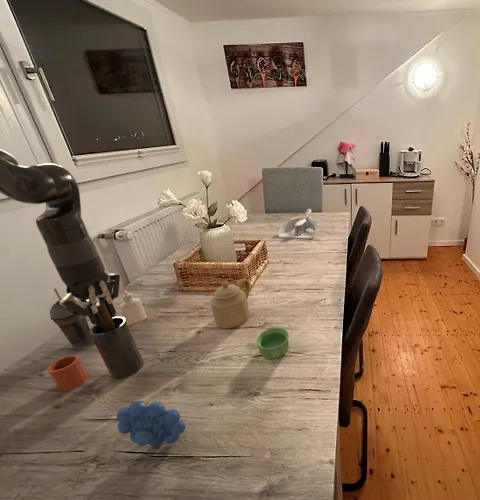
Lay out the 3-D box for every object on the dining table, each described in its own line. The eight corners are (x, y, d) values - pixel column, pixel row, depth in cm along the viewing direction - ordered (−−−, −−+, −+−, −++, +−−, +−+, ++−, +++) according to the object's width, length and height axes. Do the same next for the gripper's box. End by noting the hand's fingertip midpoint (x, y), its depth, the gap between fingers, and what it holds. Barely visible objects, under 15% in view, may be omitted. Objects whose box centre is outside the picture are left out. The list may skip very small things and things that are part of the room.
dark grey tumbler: (116, 385, 72) (93, 339, 66) (108, 372, 76) (85, 327, 70) (148, 367, 77) (129, 323, 71) (139, 356, 81) (120, 313, 75)
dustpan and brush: (276, 237, 167) (274, 222, 163) (295, 221, 196) (294, 207, 193) (313, 239, 163) (312, 223, 159) (327, 221, 193) (326, 208, 189)
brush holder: (62, 396, 69) (49, 375, 66) (58, 385, 72) (45, 364, 69) (91, 381, 73) (80, 361, 70) (86, 371, 76) (75, 351, 73)
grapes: (116, 470, 53) (91, 428, 49) (137, 434, 60) (116, 395, 55) (180, 461, 55) (162, 420, 50) (194, 427, 61) (179, 388, 56)
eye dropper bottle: (145, 322, 95) (133, 292, 90) (125, 327, 93) (112, 296, 88) (148, 315, 99) (137, 286, 94) (129, 319, 97) (116, 290, 92)
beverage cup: (97, 332, 91) (71, 278, 83) (100, 342, 86) (72, 287, 78) (67, 343, 86) (36, 287, 78) (68, 355, 82) (35, 297, 74)
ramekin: (257, 344, 84) (254, 332, 82) (286, 335, 87) (285, 324, 85) (260, 365, 76) (258, 352, 75) (293, 354, 80) (291, 342, 78)
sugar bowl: (223, 304, 104) (214, 268, 98) (254, 301, 105) (247, 265, 99) (211, 330, 90) (200, 290, 84) (246, 326, 92) (238, 287, 86)
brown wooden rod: (119, 370, 73) (90, 309, 65) (115, 364, 75) (86, 304, 67) (135, 362, 75) (109, 302, 68) (131, 356, 77) (105, 297, 70)
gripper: (92, 245, 69) (117, 303, 76) (25, 271, 57) (63, 338, 64) (119, 246, 68) (141, 305, 75) (56, 273, 56) (91, 341, 63)
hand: (105, 320), depth 70 cm, fingers closed on brown wooden rod, 2 cm apart
